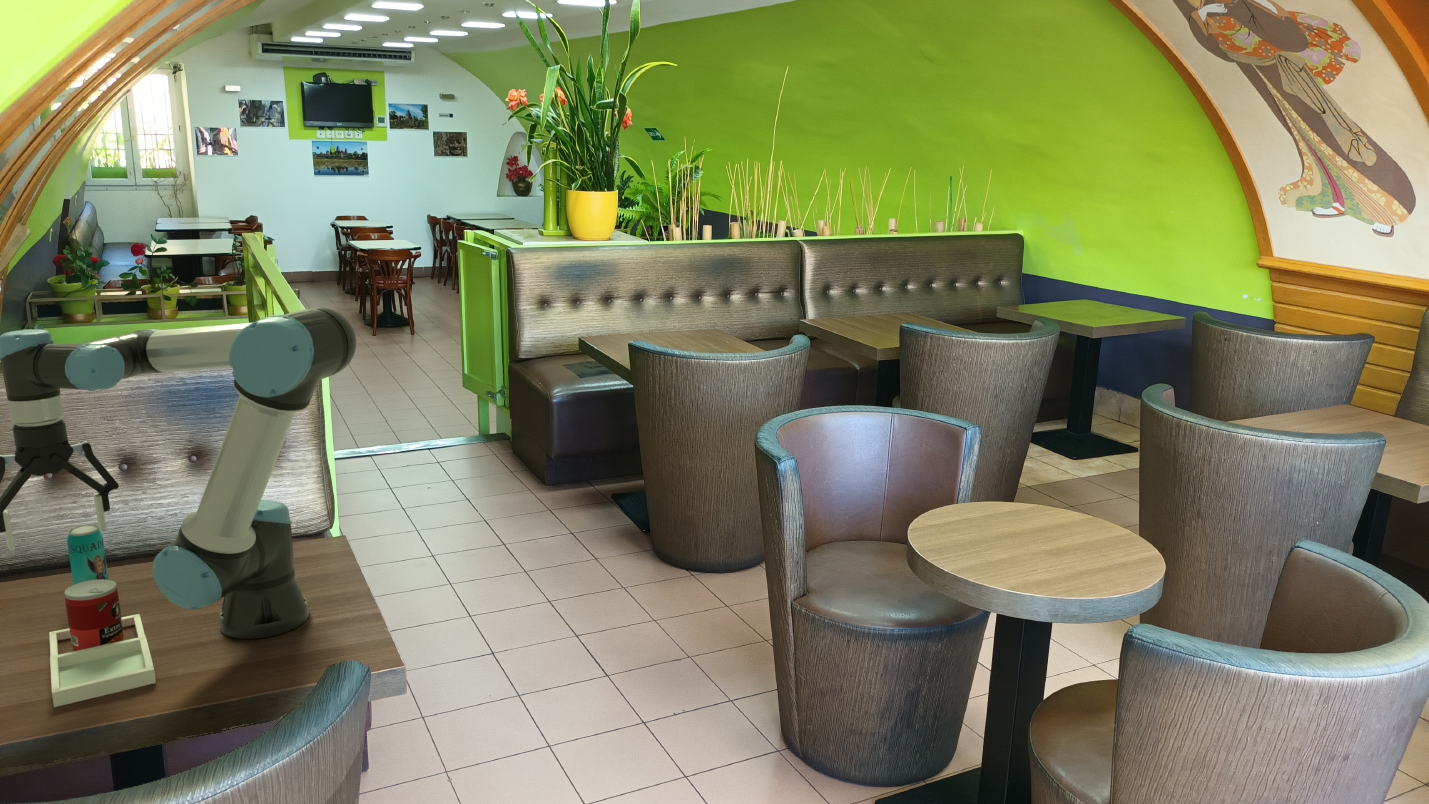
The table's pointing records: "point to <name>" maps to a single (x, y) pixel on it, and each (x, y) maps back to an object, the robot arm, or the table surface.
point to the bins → (100, 666)
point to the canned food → (93, 614)
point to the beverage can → (87, 554)
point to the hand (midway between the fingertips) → (58, 539)
